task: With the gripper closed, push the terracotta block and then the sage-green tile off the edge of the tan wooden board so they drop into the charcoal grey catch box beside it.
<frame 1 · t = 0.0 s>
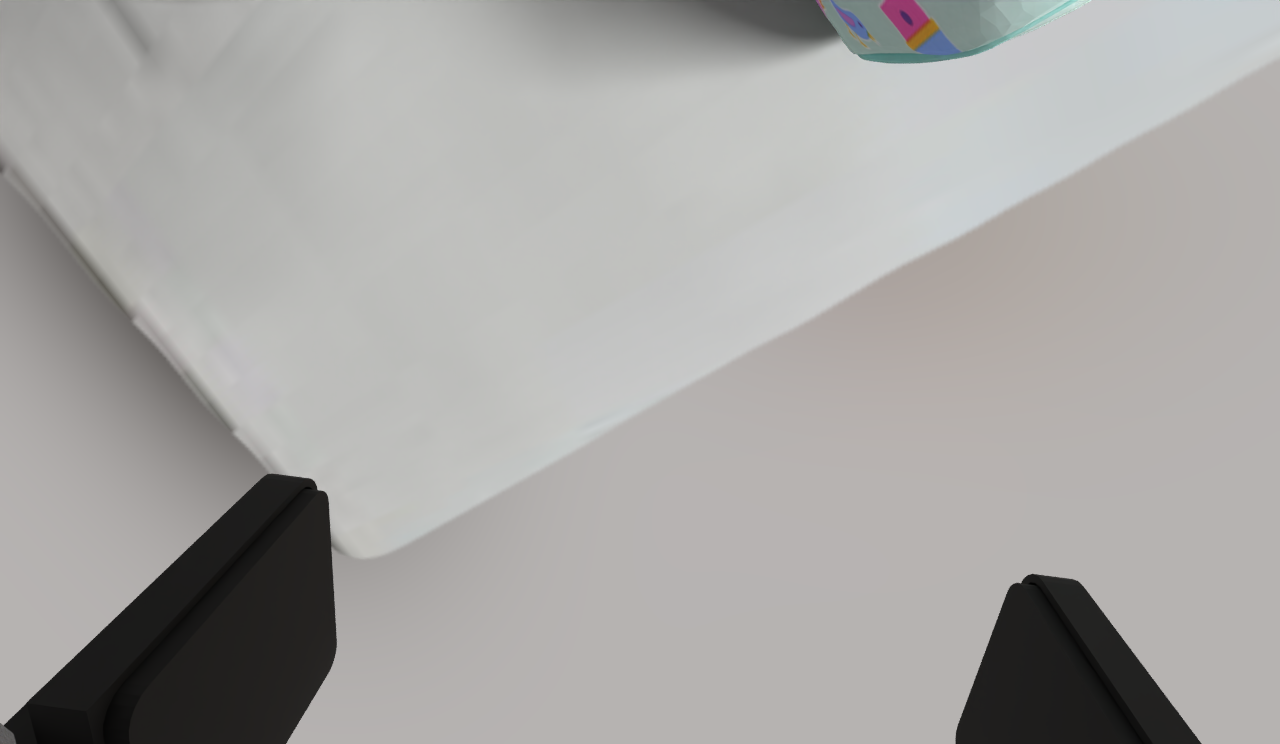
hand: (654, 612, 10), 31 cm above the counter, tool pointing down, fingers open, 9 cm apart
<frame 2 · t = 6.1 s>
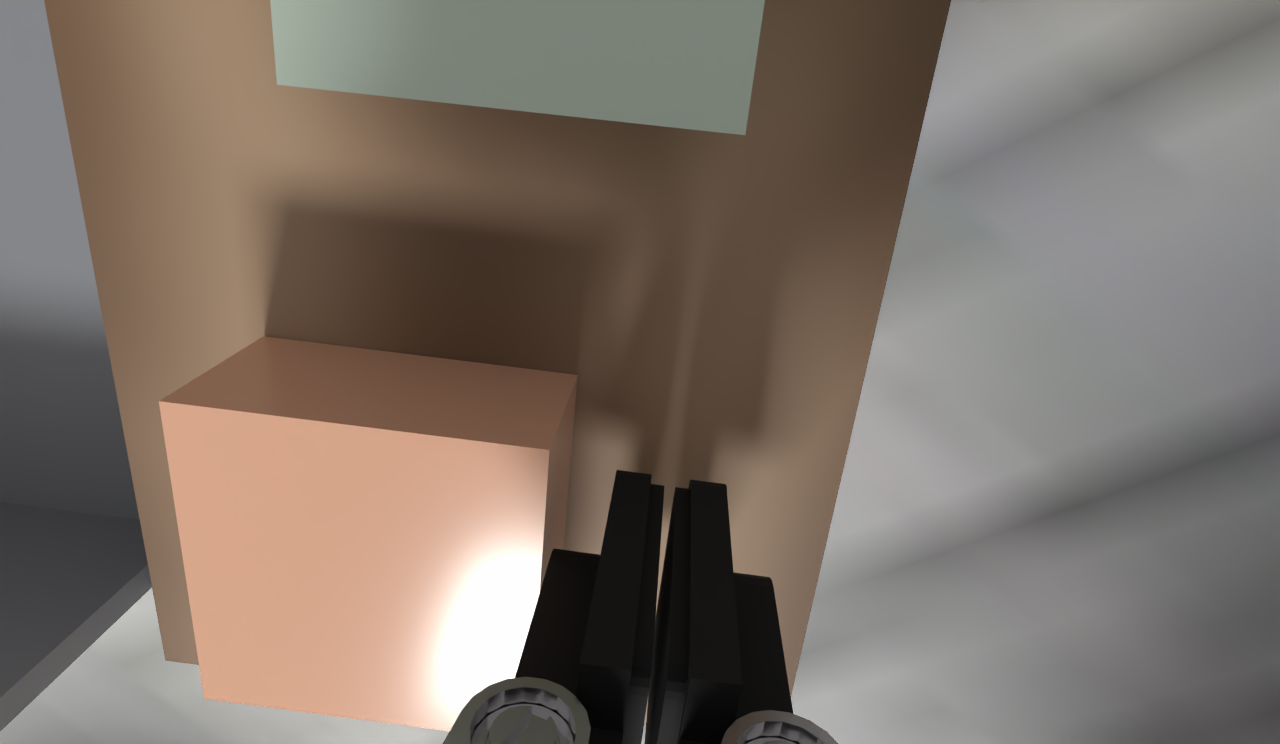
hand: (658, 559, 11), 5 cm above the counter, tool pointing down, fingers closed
tan wooden board: (531, 195, 15), on the counter
terracotta block: (420, 492, 13), point 4 cm above the counter, touching gripper
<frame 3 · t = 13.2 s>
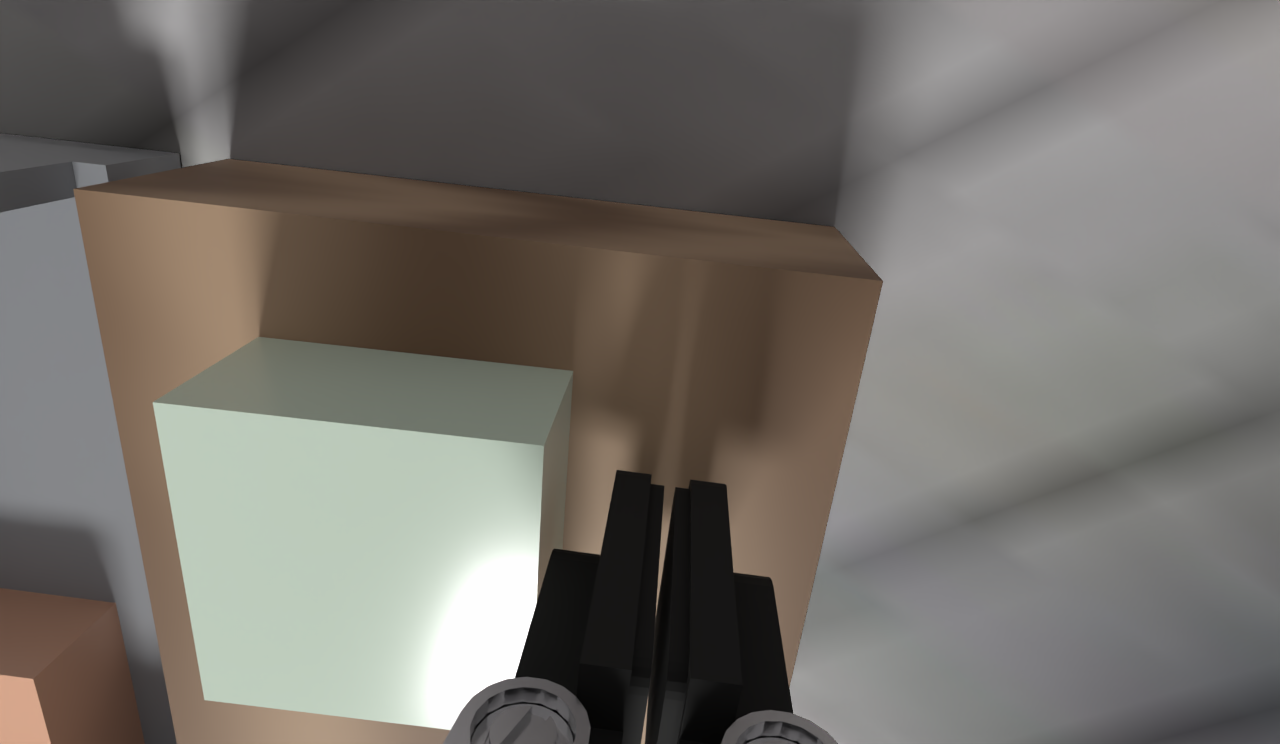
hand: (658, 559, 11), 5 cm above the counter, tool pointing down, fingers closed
catch box: (9, 506, 18), on the counter
sage tile: (418, 491, 13), point 4 cm above the counter, touching gripper
tan wooden board: (512, 569, 18), on the counter
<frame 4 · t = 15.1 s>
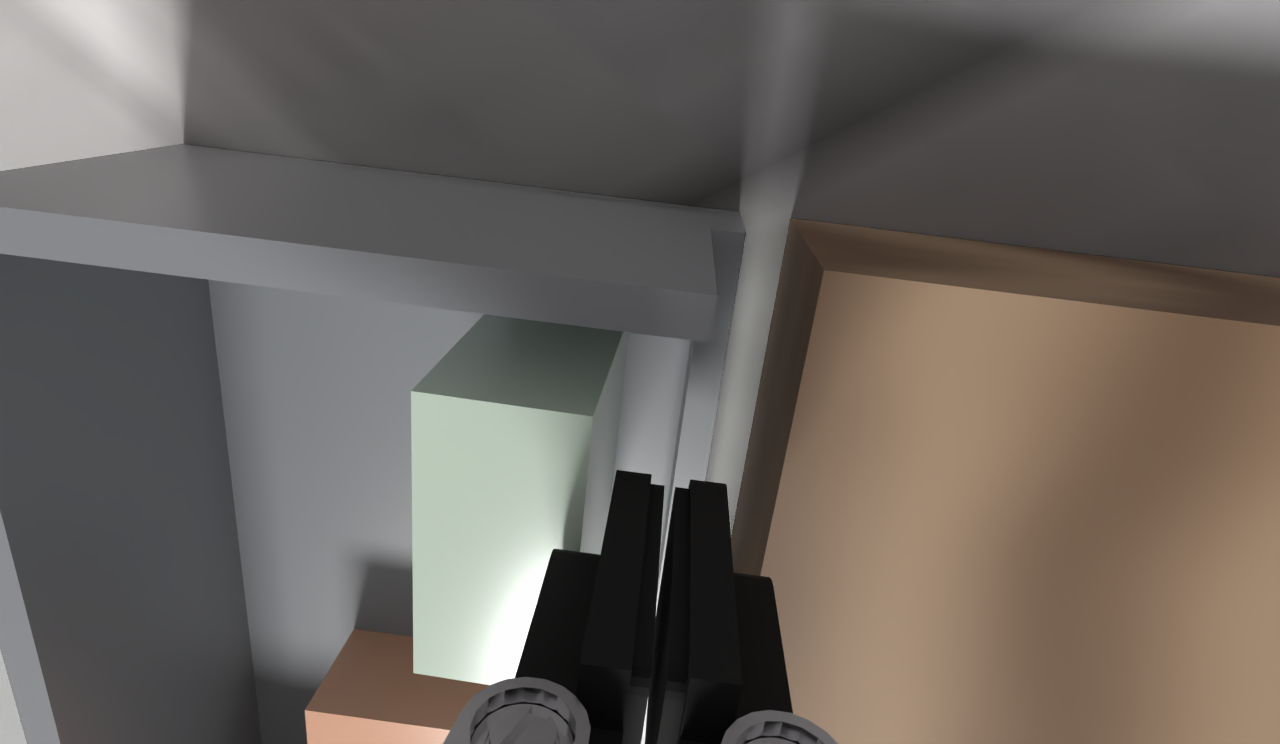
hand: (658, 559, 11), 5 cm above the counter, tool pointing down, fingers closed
catch box: (452, 557, 18), on the counter
sage tile: (602, 482, 13), point 3 cm above the counter, tilted 92°, touching catch box, gripper
tan wooden board: (972, 626, 18), on the counter
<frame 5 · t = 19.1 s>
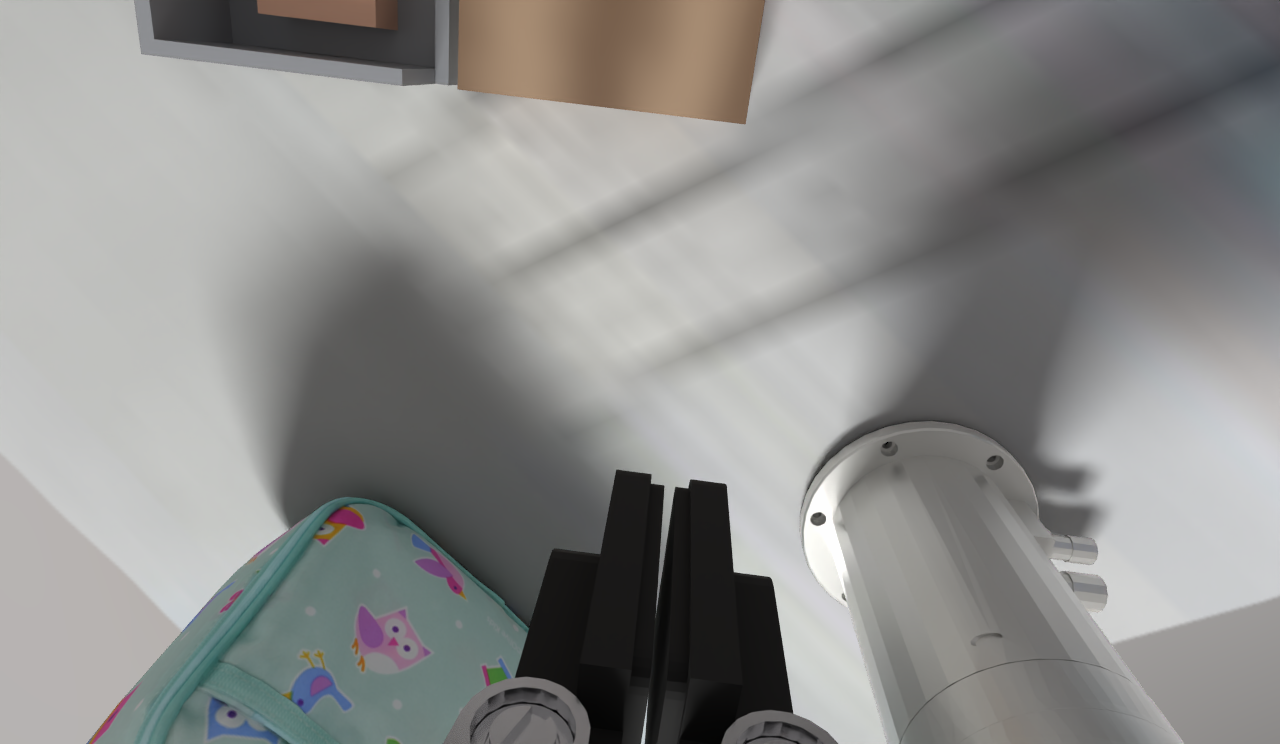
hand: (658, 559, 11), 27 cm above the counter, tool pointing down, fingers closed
lunch box: (468, 637, 48), on the counter
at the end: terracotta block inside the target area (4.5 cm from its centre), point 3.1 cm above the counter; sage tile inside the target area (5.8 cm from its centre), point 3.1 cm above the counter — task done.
